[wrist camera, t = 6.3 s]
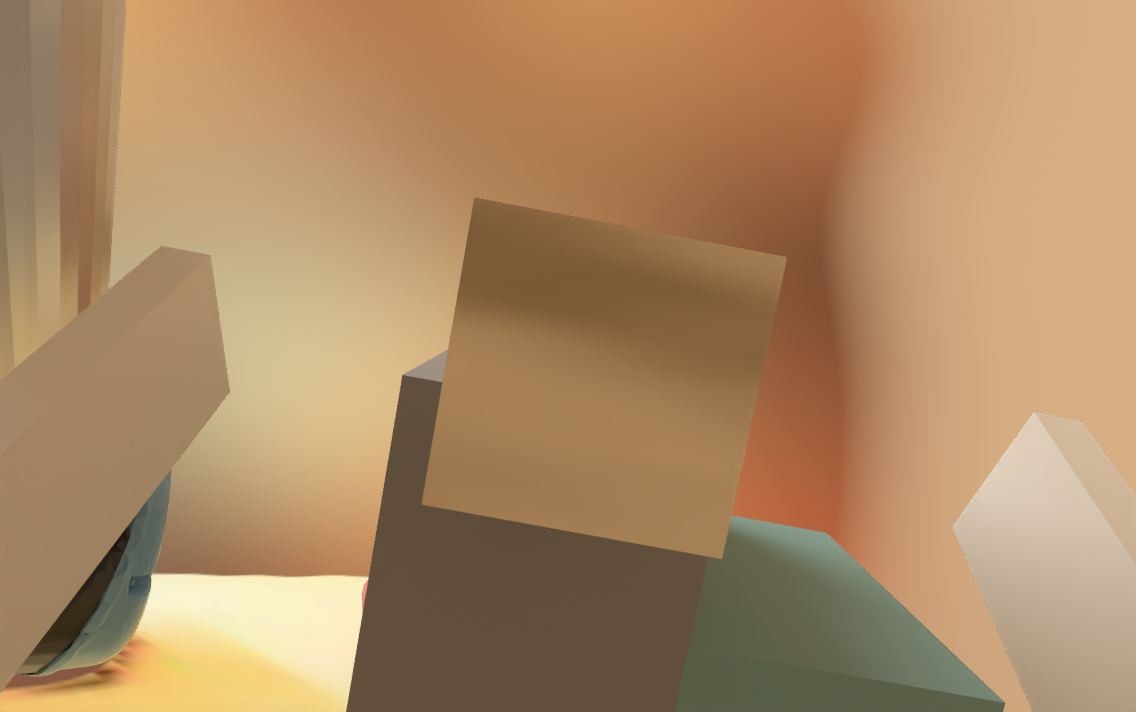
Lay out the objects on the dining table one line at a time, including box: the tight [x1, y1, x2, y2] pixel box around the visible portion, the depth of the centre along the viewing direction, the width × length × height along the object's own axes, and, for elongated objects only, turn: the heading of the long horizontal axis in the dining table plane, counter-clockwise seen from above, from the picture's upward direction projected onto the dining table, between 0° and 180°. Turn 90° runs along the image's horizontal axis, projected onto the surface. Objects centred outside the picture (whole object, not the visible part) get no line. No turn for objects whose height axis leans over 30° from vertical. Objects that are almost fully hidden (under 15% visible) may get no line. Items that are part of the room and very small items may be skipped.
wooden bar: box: [421, 198, 787, 559], centre depth 21 cm, size 23×6×5 cm, turn 0°
